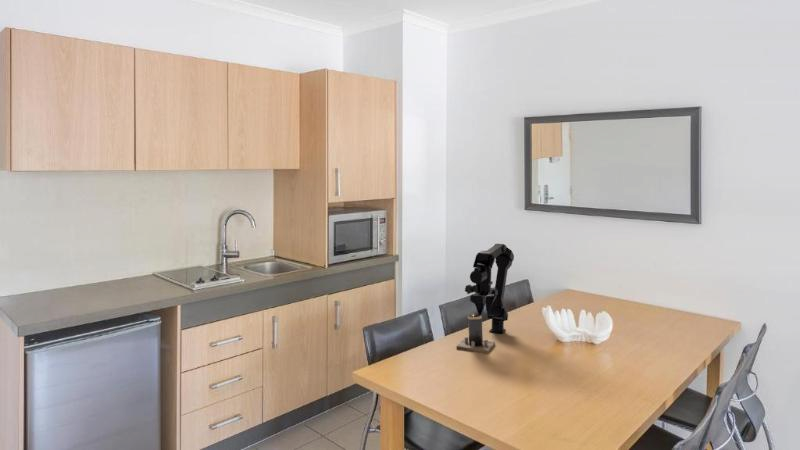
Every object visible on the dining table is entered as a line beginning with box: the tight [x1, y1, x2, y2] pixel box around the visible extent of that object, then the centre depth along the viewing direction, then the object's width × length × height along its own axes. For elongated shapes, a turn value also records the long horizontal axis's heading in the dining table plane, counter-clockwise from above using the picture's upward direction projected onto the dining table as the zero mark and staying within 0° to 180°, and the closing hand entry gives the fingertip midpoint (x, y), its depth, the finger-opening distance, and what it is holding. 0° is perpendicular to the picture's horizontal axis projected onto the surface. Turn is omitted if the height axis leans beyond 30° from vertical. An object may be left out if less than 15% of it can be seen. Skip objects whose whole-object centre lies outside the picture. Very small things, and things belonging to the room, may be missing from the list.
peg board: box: [456, 336, 496, 354], centre depth 241 cm, size 12×14×4 cm
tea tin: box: [467, 312, 484, 346], centre depth 240 cm, size 6×6×13 cm
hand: (483, 313), depth 246 cm, fingers open, 9 cm apart
